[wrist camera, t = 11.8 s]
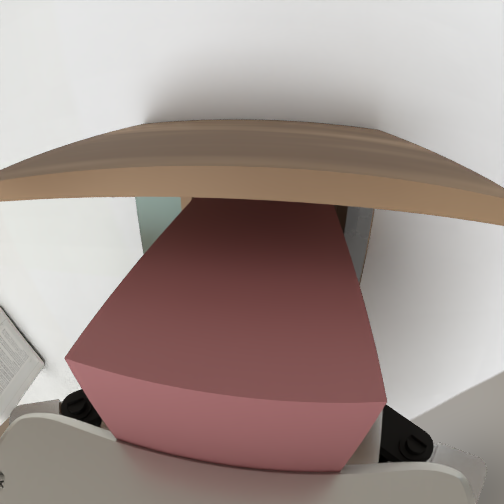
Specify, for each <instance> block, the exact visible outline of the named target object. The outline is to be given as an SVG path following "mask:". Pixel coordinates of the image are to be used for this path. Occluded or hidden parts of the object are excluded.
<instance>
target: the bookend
mask: <svg viewBox="0 0 504 504" xmlns="http://www.w3.org/2000/svg"><path fill="white" fill-rule="evenodd" d="M334 208H335V211H336V213H337V216H338V219H339V222H340V225H341V228H342V231H343V234H344V237H345V240H346V243H347V246H348V249H349V253H350V256H351V259H352V262H353V266H354V269H355V272H356V276H357V279H358V282H360V277H361V273H362V268H363V263H364V259H365V254H366V249H367V243H368V238H369V233H370V227H371V221H372V215H373V209H374V208H364V207H354V206H342V205H334Z"/></svg>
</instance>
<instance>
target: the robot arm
mask: <svg viewBox="0 0 504 504" xmlns="http://www.w3.org/2000/svg"><path fill="white" fill-rule="evenodd" d="M486 473H487V467H486V464H485V462H484V461H483V460H482V459H481V458H479V457H477V456H474V455H471V454H469V453H466V452H464V451H461V450H458V449H456V448H453V447H451V446H448V445H446V444H443V443H441V442H440V443H439V444H435V443H433V440H432V439H431V437H430V435H429V434H427V433H426V432H425V431H423V430H422V429H421V428H419V427H418V426H416V425H415V424H413V423H412V422H411V421H409V420H408V419H406V418H405V417H403V416H402V415H400V414H399V413H398V412H396V411H395V410H393V409H392V408H390V407H389V406H388V405H386V404H385V406H384V408H383V409H382V411H381V413H380V414H379V416H378V418H377V419H376V421H375V422H374V424H373V425H372V427H371V429H370V430H369V432H368V433H367V435H366V436H365V438H364V439H363V441H362V442H361V444H360V445H359V446H358V448H357V449H356V451H355V452H354V454H353V455H352V456H351V458H350V459H349V460H348V462H347V463H346V464H345V466H344V467H343V468H342V470H341V471H340V472H295V471H276V470H263V469H253V468H244V467H236V466H229V465H222V464H216V463H210V462H204V461H199V460H194V459H189V458H184V457H179V456H175V455H171V454H167V453H163V452H159V451H155V450H151V449H148V448H144V447H140V446H137V445H134V444H130V443H127V442H124V441H121V440H118V439H116V438H115V436H114V435H113V434H112V432H111V431H110V430H109V428H108V427H107V426H106V424H105V423H104V421H103V420H102V418H101V417H100V416H99V414H98V413H97V411H96V410H95V408H94V407H93V405H92V404H91V402H90V401H89V399H88V397H87V396H86V394H85V393H84V391H83V389H81V390H78V391H76V392H73V393H71V394H69V395H68V396H67V397H66V398H65V399H64V400H63V401H62V402H60V400H59V399H57V400H51V401H44V402H38V403H31V404H23V405H19V406H17V407H16V408H14V409H13V411H12V412H11V414H10V419H9V427H8V428H7V429H6V431H5V432H4V434H3V435H2V436H1V438H0V504H477V501H478V499H479V496H480V493H481V490H482V487H483V484H484V481H485V478H486Z"/></svg>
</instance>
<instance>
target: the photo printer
mask: <svg viewBox="0 0 504 504" xmlns="http://www.w3.org/2000/svg"><path fill="white" fill-rule="evenodd" d="M43 367H44V362H43V361H42V360H41V358H40V357H39V356H38V355H37V353H36V352H35V351H34V350H33V349H32V347H31V346H30V345H29V344H28V342H27V341H26V340H25V339H24V338H23V336H22V335H21V334H20V332H19V331H18V330H17V329H16V327H15V326H14V325H13V323H12V322H11V320H10V319H9V318H8V316H7V315H6V314H5V312H4V311H3V310H2V309H1V307H0V425H1V424H2V423H3V422H4V421H5V420H7V419H8V418H9V416H10V414H11V412H12V411H13V409H14V408H15V407H16V406H17V404H18V403H19V401H20V400H21V398H22V397H23V395H24V394H25V392H26V391H27V390H28V388H29V387H30V385H31V384H32V383H33V381H34V380H35V378H36V377H37V376H38V374H39V373H40V371H41V370H42V369H43Z"/></svg>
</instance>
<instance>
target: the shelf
mask: <svg viewBox="0 0 504 504" xmlns="http://www.w3.org/2000/svg"><path fill="white" fill-rule="evenodd" d="M82 197H135V198H136V206H137V214H138V221H139V228H140V235H141V241H142V247H143V253H144V254H145V253H146V251H147V250H148V249H149V248H150V247H151V245H152V244H153V243H154V242H155V241H156V240H157V238H158V237H159V236H160V235H161V234H162V233H163V232H164V230H165V229H166V228H167V227H168V226H169V225H170V224H171V222H172V221H173V220H174V219H175V218H176V217H177V216H178V215H179V214H180V212H181V211H182V210H183V209H184V208H185V207H186V206H187V205H188V204H189V203H190V201H191V200H192V199H193V198H194V197H199V198H230V199H253V200H272V201H289V202H304V203H317V204H330V205H342V206H354V207H364V208H374V209H384V210H393V211H402V212H411V213H419V214H427V215H435V216H443V217H450V218H457V219H464V220H471V221H477V222H484V223H490V224H496V225H502V226H504V188H503V187H501V186H500V185H498V184H496V183H494V182H493V181H491V180H489V179H487V178H485V177H483V176H482V175H480V174H478V173H476V172H474V171H472V170H470V169H468V168H466V167H464V166H462V165H460V164H458V163H456V162H454V161H452V160H450V159H448V158H446V157H443V156H441V155H439V154H437V153H435V152H432V151H430V150H428V149H426V148H423V147H421V146H418V145H416V144H414V143H411V142H409V141H406V140H404V139H401V138H399V137H396V136H393V135H391V134H388V133H385V132H383V131H380V130H375V129H368V128H360V127H352V126H344V125H335V124H324V123H312V122H298V121H280V120H192V121H174V122H160V123H148V124H141V125H137V126H132V127H128V128H124V129H120V130H116V131H112V132H109V133H105V134H101V135H98V136H94V137H91V138H87V139H84V140H81V141H77V142H74V143H71V144H68V145H65V146H62V147H59V148H56V149H53V150H50V151H47V152H45V153H42V154H39V155H37V156H34V157H31V158H29V159H26V160H24V161H21V162H19V163H16V164H14V165H11V166H9V167H7V168H4V169H2V170H0V202H1V201H16V200H32V199H53V198H82ZM374 209H373V215H374ZM373 215H372V221H373ZM372 221H371V227H372ZM371 227H370V232H371ZM369 238H370V233H369ZM369 238H368V243H369ZM368 243H367V248H368ZM366 253H367V249H366ZM365 258H366V254H365ZM364 263H365V259H364ZM364 263H363V268H364ZM363 268H362V272H363ZM361 277H362V273H361ZM361 277H360V281H361ZM359 286H360V282H359Z"/></svg>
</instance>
